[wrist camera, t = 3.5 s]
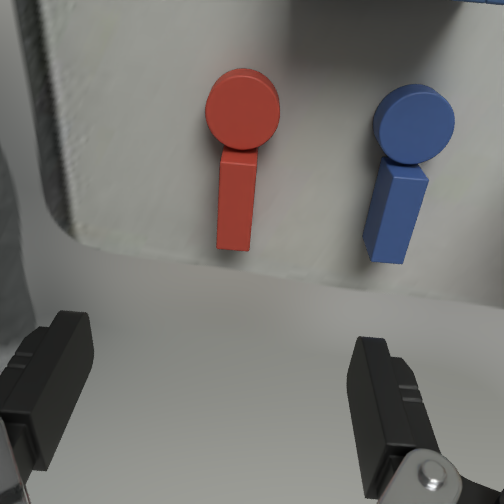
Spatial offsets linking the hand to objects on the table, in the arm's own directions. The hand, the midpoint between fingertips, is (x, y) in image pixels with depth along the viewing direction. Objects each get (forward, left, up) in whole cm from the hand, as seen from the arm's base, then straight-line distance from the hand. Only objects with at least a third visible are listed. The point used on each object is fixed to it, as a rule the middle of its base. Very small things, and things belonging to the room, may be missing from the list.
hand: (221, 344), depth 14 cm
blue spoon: (+7, +2, -11) cm, 13 cm away
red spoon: (0, +2, -11) cm, 11 cm away
